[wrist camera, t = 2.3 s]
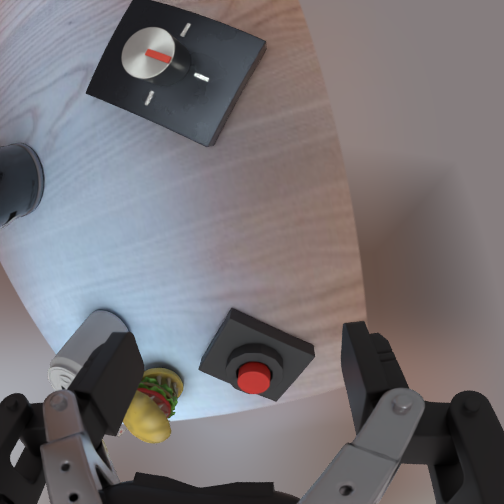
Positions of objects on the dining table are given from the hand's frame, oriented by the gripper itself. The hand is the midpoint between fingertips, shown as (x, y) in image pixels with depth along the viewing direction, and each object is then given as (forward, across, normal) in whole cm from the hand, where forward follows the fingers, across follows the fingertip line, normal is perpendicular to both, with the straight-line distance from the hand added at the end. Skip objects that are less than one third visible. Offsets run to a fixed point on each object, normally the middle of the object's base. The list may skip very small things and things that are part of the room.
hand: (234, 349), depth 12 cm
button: (+18, +2, +18) cm, 26 cm away
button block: (+22, +2, +18) cm, 28 cm away
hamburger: (+22, +16, +22) cm, 35 cm away
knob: (+19, +7, -15) cm, 25 cm away
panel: (+22, +6, -15) cm, 27 cm away
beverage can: (+22, +21, +14) cm, 34 cm away
